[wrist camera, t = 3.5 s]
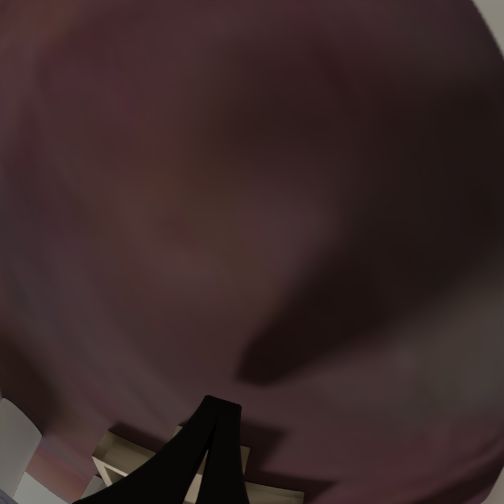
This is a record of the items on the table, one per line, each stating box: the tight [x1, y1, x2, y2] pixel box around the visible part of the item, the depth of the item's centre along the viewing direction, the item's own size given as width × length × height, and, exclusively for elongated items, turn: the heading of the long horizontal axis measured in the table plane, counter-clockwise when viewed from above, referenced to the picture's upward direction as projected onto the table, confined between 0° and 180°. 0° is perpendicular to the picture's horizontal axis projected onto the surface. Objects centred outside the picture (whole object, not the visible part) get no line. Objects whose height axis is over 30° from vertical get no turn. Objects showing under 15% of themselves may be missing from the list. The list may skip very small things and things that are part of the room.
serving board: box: [92, 426, 304, 504], centre depth 15 cm, size 14×15×2 cm
